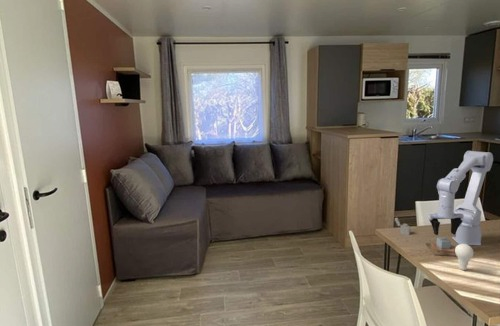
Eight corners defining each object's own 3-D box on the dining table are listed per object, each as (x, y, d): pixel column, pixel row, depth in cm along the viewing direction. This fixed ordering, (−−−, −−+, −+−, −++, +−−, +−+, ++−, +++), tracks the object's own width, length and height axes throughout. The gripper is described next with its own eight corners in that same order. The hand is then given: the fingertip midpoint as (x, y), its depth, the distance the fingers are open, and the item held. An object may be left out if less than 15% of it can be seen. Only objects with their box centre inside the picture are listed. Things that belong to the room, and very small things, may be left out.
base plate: (451, 245, 144) (452, 241, 143) (462, 257, 133) (462, 252, 133) (426, 244, 146) (426, 240, 146) (434, 255, 136) (434, 251, 135)
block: (445, 246, 142) (445, 237, 141) (450, 250, 138) (450, 241, 137) (436, 246, 142) (436, 237, 141) (441, 250, 138) (441, 241, 137)
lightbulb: (466, 275, 119) (468, 249, 117) (450, 268, 124) (452, 243, 123) (475, 271, 122) (477, 245, 120) (459, 264, 127) (460, 239, 125)
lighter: (409, 233, 159) (410, 219, 158) (409, 234, 158) (409, 220, 157) (394, 231, 164) (395, 217, 162) (394, 232, 162) (394, 218, 161)
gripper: (457, 201, 140) (455, 230, 142) (424, 203, 140) (423, 231, 143) (467, 206, 133) (465, 236, 135) (433, 208, 133) (431, 237, 136)
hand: (444, 234), depth 138 cm, fingers open, 7 cm apart
